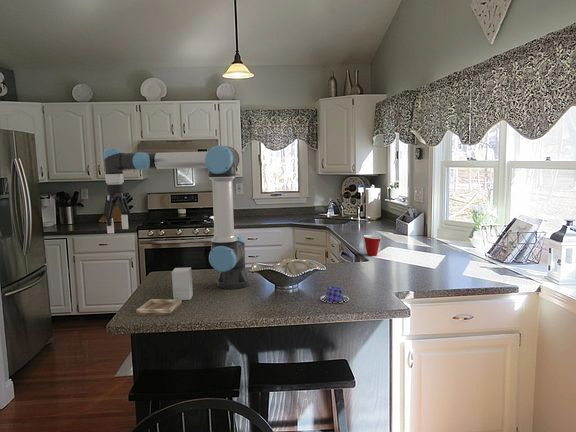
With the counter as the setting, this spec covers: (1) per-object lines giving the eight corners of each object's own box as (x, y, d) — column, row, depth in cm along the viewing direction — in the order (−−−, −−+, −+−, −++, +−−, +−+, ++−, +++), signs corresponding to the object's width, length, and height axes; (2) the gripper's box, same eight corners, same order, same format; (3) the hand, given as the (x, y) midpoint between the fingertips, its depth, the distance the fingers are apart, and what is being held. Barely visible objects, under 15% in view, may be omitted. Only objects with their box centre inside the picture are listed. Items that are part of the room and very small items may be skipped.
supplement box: (193, 295, 206) (191, 267, 205) (190, 300, 199) (189, 271, 198) (176, 295, 206) (174, 267, 205) (172, 300, 199) (171, 271, 197)
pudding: (354, 299, 196) (354, 287, 196) (337, 306, 188) (337, 293, 187) (331, 294, 204) (331, 282, 204) (314, 300, 196) (314, 288, 195)
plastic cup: (381, 257, 277) (381, 237, 276) (363, 257, 279) (363, 237, 278) (381, 253, 288) (381, 234, 286) (363, 253, 290) (363, 234, 289)
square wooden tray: (182, 304, 193) (182, 299, 193) (170, 315, 180) (170, 310, 179) (150, 303, 195) (150, 299, 195) (135, 314, 181) (135, 309, 181)
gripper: (120, 182, 222) (123, 227, 224) (92, 185, 197) (95, 235, 200) (135, 182, 221) (138, 227, 223) (108, 184, 196) (112, 235, 199)
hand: (118, 231), depth 212 cm, fingers open, 13 cm apart
